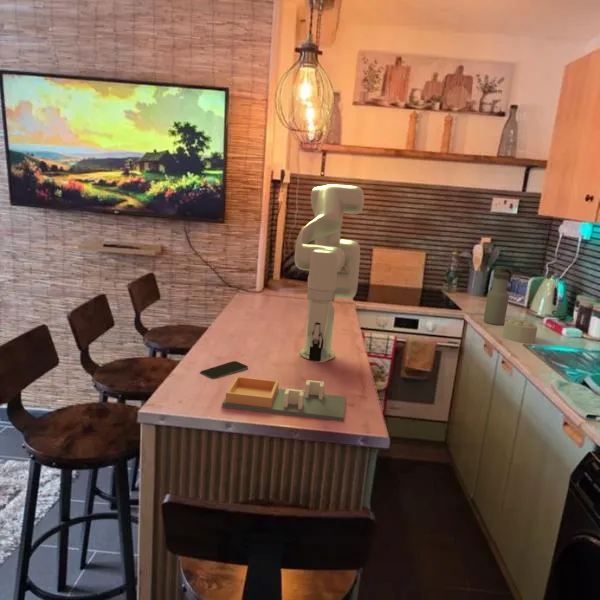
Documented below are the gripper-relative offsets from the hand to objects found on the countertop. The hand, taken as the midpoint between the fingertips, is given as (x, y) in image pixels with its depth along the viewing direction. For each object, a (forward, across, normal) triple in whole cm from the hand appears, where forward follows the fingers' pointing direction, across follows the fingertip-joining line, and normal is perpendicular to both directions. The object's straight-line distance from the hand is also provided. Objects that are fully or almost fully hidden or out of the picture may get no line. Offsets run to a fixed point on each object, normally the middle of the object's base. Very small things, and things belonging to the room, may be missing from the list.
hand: (315, 355), depth 147 cm
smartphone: (+15, -16, -30) cm, 37 cm away
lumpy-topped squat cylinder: (+14, -90, +85) cm, 125 cm away
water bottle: (+14, -116, +81) cm, 142 cm away
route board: (+14, +4, -7) cm, 16 cm away
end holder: (+13, +4, -17) cm, 21 cm away
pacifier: (+1, +1, 0) cm, 1 cm away
